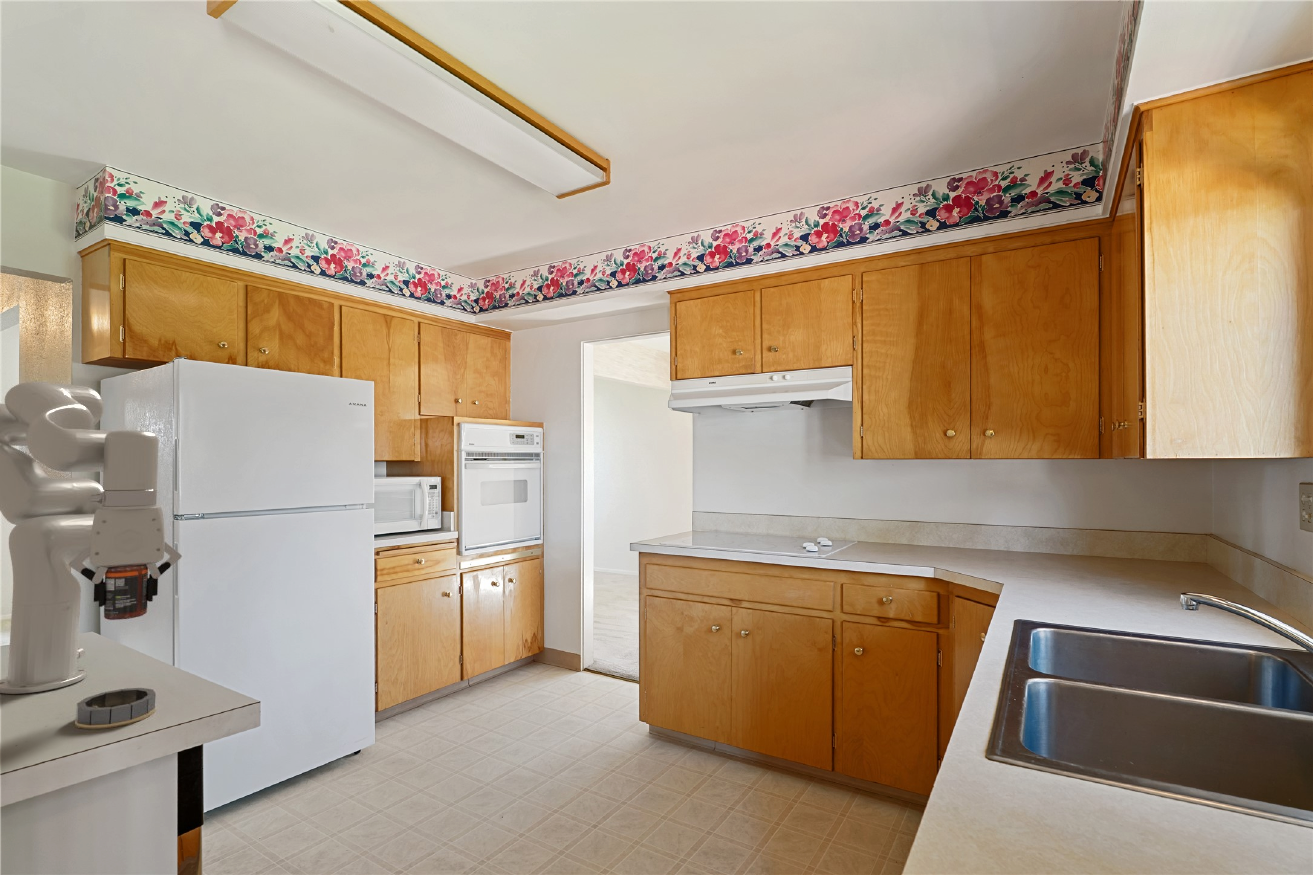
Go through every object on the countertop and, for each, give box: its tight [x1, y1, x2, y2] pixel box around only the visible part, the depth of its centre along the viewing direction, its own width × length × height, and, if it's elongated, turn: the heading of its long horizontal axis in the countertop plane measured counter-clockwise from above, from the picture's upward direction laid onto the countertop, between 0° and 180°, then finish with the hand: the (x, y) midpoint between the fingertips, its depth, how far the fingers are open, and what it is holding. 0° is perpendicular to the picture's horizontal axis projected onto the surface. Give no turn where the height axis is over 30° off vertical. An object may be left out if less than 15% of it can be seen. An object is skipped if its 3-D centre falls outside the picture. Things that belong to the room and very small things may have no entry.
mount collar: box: [74, 687, 156, 730], centre depth 109 cm, size 10×10×3 cm
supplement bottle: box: [103, 564, 149, 621], centre depth 114 cm, size 6×6×11 cm
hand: (126, 601), depth 114 cm, fingers closed on supplement bottle, 6 cm apart
